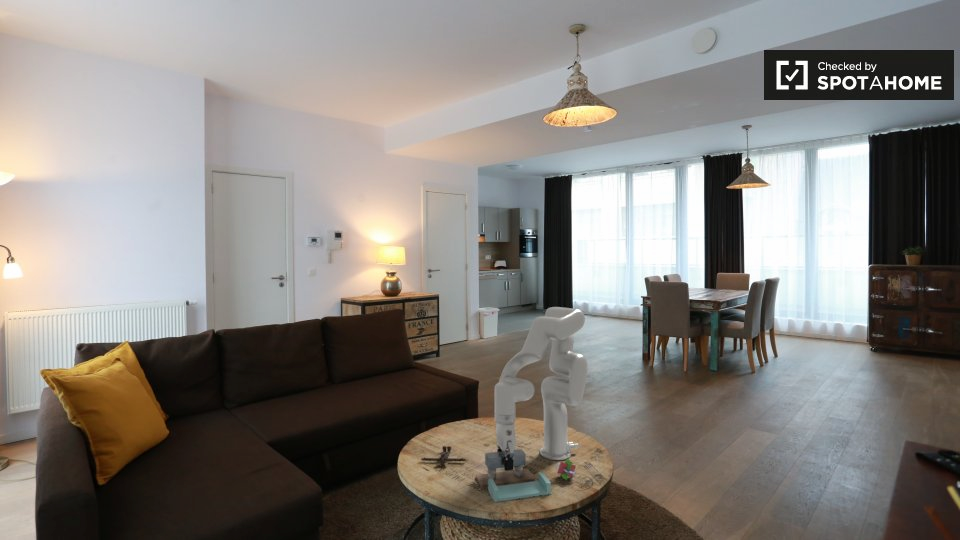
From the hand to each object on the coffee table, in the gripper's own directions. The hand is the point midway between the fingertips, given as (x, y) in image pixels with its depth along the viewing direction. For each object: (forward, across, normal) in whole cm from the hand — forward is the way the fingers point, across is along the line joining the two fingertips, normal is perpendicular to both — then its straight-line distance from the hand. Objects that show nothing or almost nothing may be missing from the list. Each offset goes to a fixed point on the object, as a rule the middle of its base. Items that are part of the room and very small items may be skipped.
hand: (505, 464), depth 171 cm
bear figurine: (+6, +22, +19) cm, 30 cm away
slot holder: (+6, -10, -2) cm, 12 cm away
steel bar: (0, 0, 0) cm, 0 cm away
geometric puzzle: (+6, -4, -22) cm, 23 cm away
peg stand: (+6, 0, 0) cm, 6 cm away
